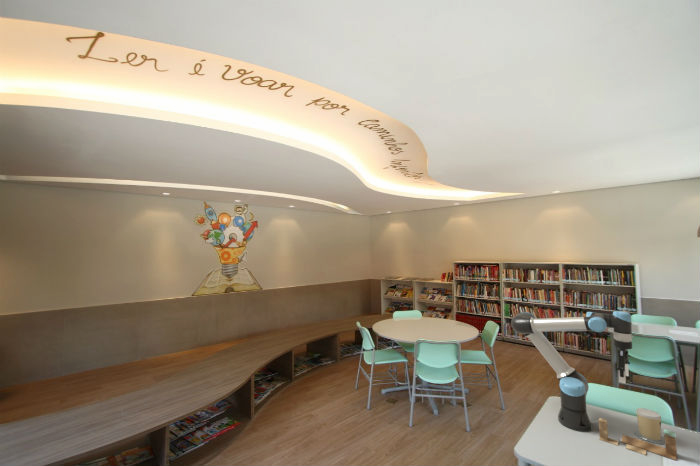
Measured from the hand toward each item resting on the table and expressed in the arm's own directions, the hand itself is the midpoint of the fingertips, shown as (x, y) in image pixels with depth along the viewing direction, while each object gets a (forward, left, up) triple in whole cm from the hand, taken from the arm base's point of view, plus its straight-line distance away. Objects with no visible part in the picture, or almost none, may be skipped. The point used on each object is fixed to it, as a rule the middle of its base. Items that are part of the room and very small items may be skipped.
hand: (623, 379), depth 166 cm
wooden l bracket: (+8, -14, -26) cm, 31 cm away
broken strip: (+1, -21, -26) cm, 34 cm away
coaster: (+9, -2, -26) cm, 28 cm away
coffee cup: (+9, -2, -26) cm, 27 cm away
